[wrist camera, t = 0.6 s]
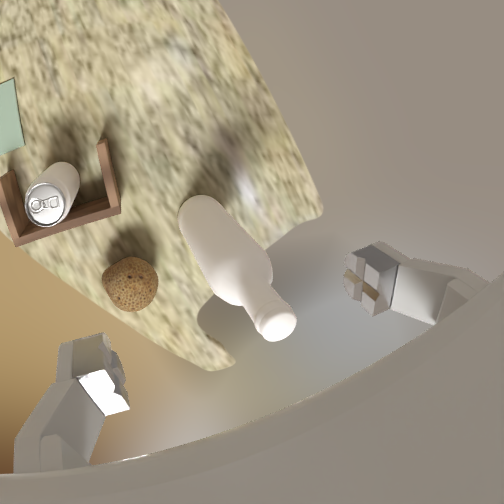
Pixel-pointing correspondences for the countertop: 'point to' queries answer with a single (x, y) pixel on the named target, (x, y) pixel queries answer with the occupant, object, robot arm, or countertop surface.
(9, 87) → the mat
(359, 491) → the robot arm
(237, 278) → the bottle
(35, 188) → the can
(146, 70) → the countertop surface
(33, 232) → the brown wooden u-shaped frame
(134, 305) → the natural sponge
